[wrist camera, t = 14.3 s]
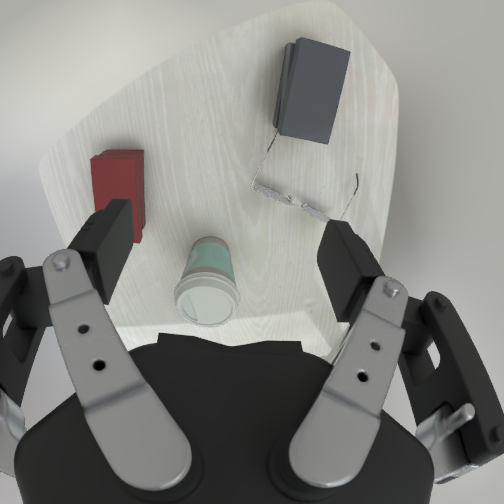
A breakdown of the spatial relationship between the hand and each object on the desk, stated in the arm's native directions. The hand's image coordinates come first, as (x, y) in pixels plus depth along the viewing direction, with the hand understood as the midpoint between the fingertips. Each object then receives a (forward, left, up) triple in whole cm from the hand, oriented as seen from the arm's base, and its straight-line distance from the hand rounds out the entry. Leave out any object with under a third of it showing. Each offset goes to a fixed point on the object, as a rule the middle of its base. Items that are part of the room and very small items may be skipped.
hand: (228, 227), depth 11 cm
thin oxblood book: (+11, -14, -24) cm, 30 cm away
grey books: (-5, +8, -27) cm, 29 cm away
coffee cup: (+21, -1, -27) cm, 34 cm away
